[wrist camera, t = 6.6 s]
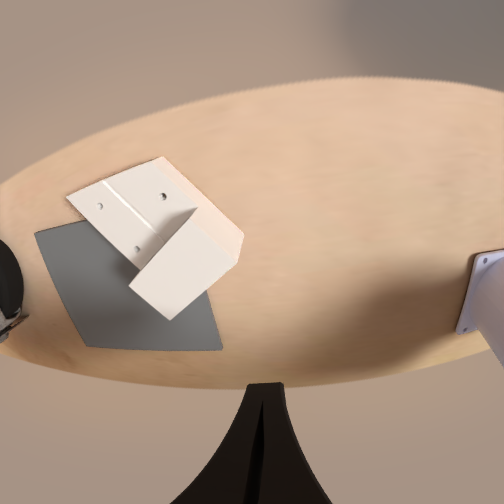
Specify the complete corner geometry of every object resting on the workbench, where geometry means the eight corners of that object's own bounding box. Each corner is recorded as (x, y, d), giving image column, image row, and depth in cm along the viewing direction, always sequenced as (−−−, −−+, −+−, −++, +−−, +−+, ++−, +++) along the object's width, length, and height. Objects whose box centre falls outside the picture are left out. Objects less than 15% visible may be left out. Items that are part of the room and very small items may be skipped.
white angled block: (127, 296, 20) (81, 189, 17) (256, 274, 19) (217, 139, 15) (106, 327, 17) (48, 206, 13) (252, 309, 15) (201, 144, 12)
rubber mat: (184, 200, 17) (182, 202, 17) (222, 346, 22) (222, 350, 22) (36, 231, 19) (34, 233, 18) (88, 343, 24) (86, 346, 24)
